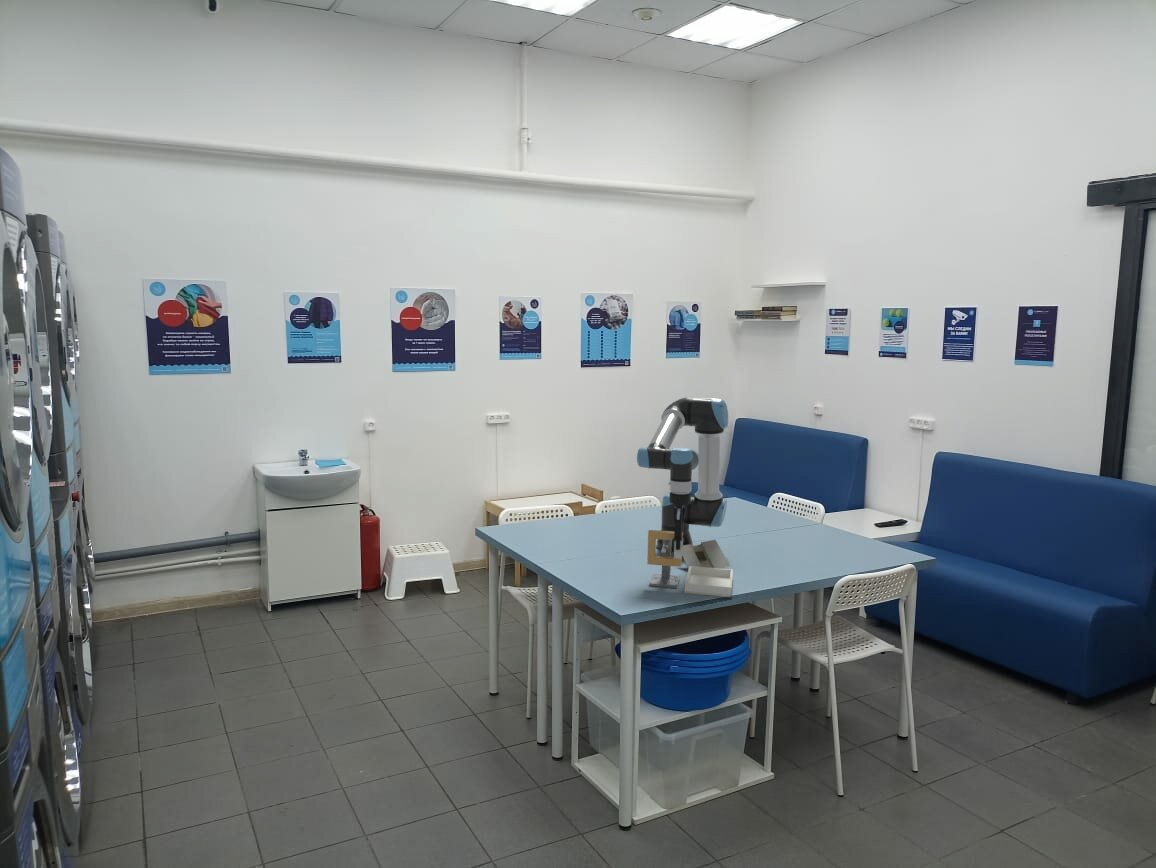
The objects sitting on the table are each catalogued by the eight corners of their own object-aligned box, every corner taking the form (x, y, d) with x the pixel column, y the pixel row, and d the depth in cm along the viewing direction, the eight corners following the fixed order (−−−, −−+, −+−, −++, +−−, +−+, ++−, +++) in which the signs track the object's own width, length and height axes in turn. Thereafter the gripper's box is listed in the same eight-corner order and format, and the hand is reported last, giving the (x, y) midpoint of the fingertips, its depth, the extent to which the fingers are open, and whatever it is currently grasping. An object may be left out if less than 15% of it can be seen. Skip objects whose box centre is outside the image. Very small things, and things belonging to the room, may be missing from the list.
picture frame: (648, 562, 293) (649, 529, 291) (681, 564, 290) (682, 532, 289) (647, 564, 290) (648, 531, 289) (681, 566, 288) (682, 533, 286)
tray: (689, 575, 304) (689, 566, 303) (732, 578, 301) (732, 569, 300) (684, 593, 283) (684, 583, 282) (731, 597, 279) (731, 587, 279)
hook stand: (652, 576, 302) (654, 531, 300) (679, 578, 300) (681, 533, 298) (647, 589, 287) (649, 542, 284) (676, 591, 285) (677, 544, 282)
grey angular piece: (728, 577, 315) (715, 545, 325) (731, 565, 309) (718, 533, 318) (687, 585, 313) (676, 553, 322) (690, 574, 306) (678, 541, 316)
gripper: (671, 487, 294) (669, 550, 297) (667, 495, 279) (665, 562, 282) (692, 488, 292) (690, 551, 296) (689, 497, 277) (687, 563, 280)
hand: (678, 556), depth 289 cm, fingers closed on picture frame, 2 cm apart
